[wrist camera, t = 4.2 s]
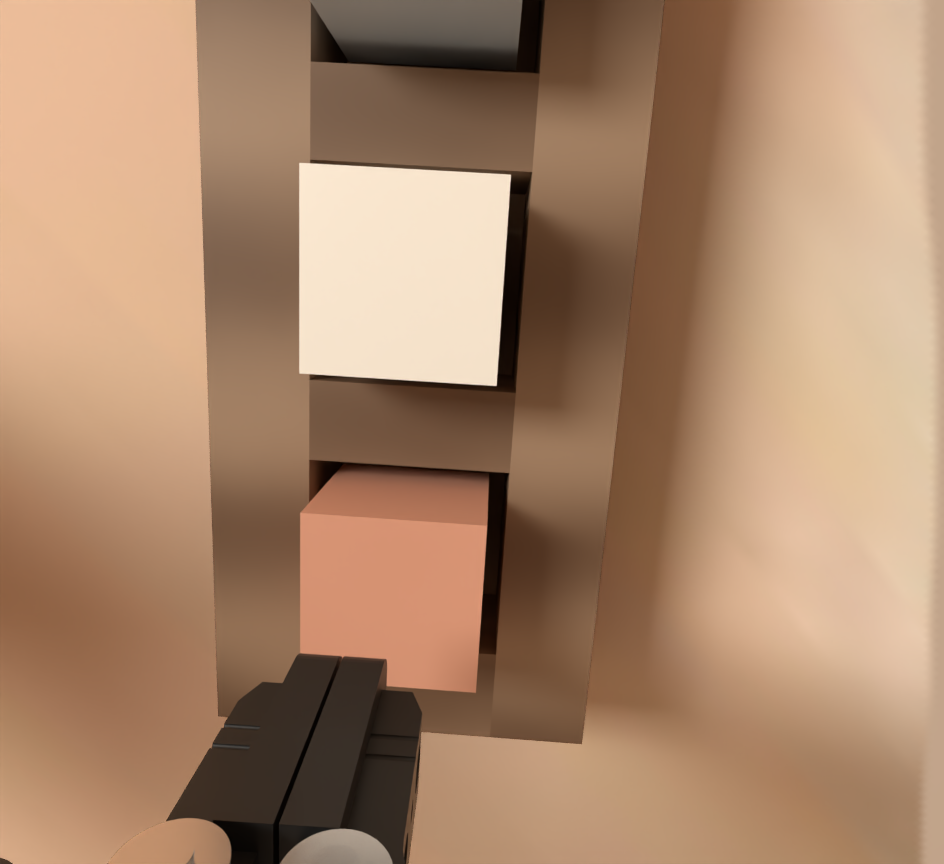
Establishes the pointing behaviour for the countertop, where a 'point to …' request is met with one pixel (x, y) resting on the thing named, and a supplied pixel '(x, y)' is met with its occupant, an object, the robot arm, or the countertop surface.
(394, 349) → the cream cube
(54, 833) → the countertop surface
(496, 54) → the slate key
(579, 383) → the key panel
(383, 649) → the pink cube
